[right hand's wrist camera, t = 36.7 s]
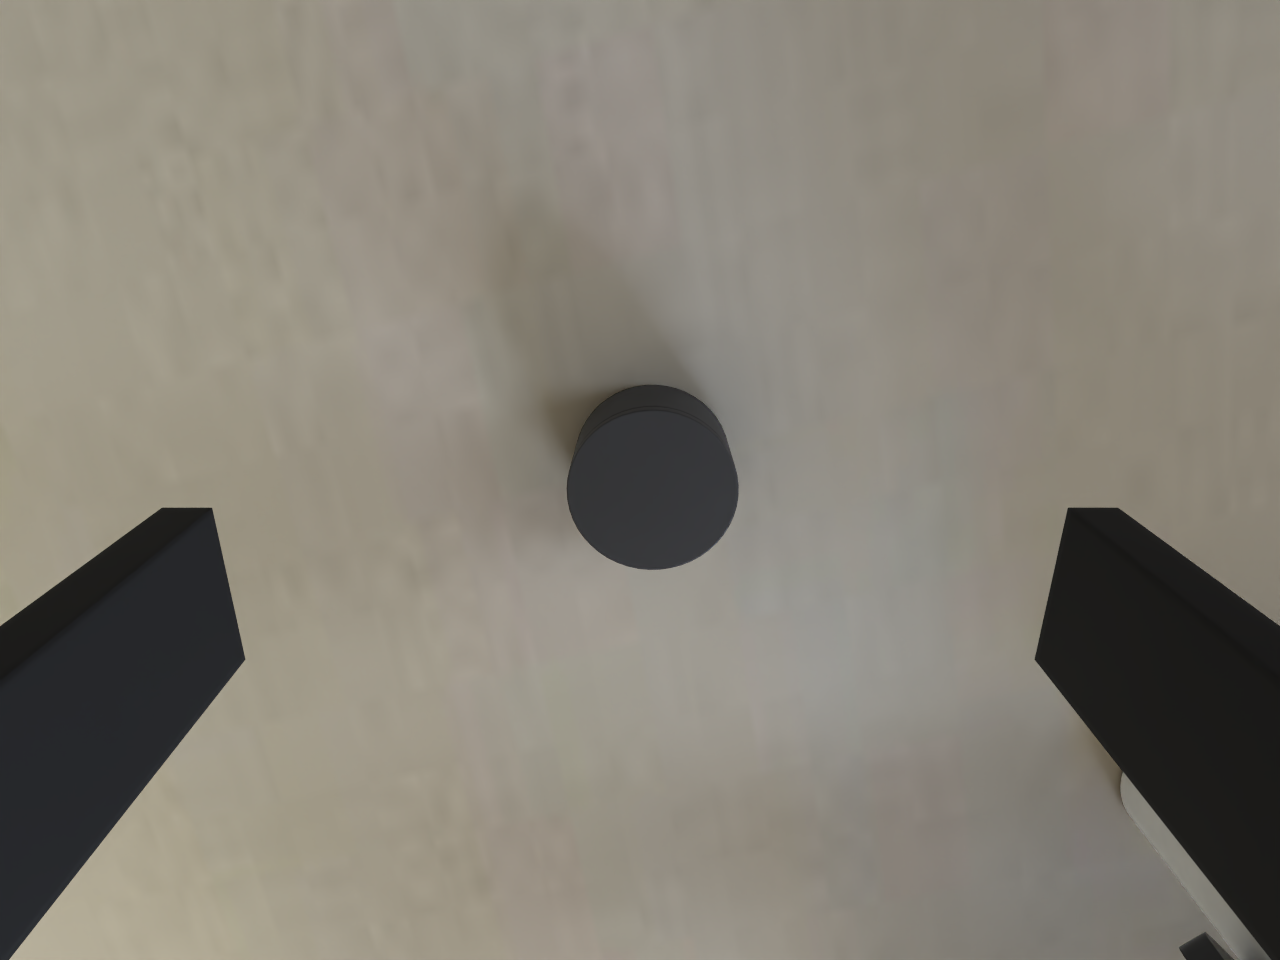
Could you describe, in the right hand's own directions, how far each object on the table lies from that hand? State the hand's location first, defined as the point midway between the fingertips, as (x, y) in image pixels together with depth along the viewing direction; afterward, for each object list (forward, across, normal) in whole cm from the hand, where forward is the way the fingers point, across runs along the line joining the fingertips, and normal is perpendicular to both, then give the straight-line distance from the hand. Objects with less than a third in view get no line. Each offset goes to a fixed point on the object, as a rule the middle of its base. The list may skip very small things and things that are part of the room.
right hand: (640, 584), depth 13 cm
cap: (+6, 0, -1) cm, 6 cm away
